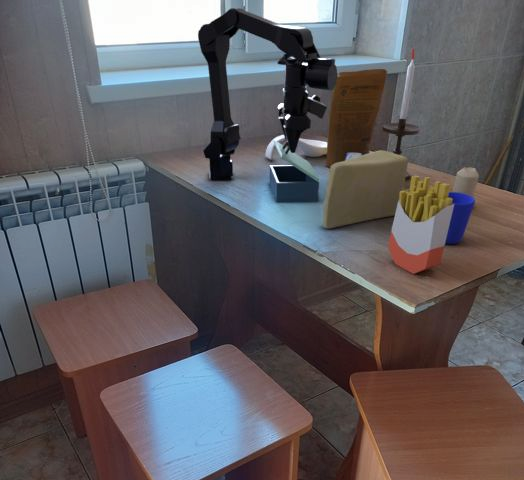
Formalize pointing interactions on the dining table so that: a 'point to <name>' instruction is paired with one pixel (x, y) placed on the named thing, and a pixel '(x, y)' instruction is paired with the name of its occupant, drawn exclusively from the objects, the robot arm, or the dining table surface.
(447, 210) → the french fries container
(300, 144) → the spoon rest
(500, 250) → the dining table surface
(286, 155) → the lunchbox lid
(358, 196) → the cheese
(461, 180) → the candle
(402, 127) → the candlestick
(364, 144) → the pancake mix bag
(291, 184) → the lunchbox
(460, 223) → the mug
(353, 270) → the dining table surface
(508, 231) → the dining table surface
